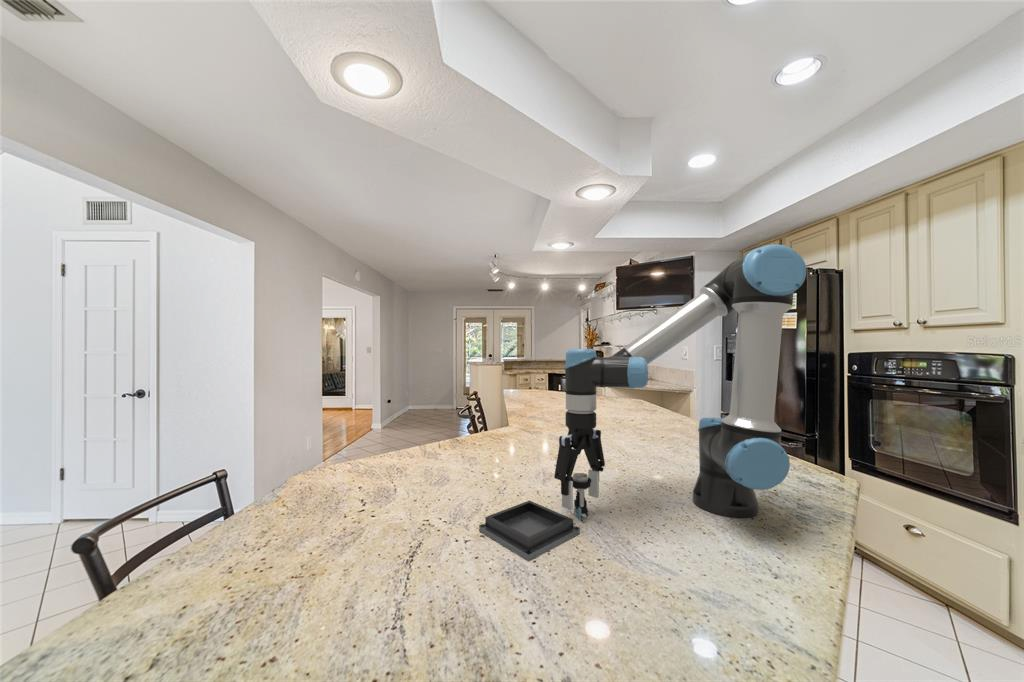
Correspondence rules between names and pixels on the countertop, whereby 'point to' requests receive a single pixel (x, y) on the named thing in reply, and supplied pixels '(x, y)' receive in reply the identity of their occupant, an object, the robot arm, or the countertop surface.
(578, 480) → the push button
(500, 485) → the countertop surface
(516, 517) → the grey metal square tray
